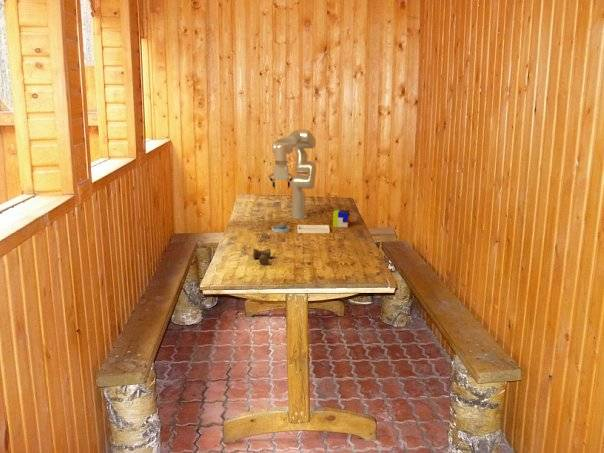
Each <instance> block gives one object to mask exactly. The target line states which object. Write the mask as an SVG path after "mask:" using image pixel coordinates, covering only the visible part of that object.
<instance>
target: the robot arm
mask: <svg viewBox="0 0 604 453" xmlns="http://www.w3.org/2000/svg"><path fill="white" fill-rule="evenodd" d="M316 144H317V141H316V138H315V136H314V135H313V133H312V132H311V131H310V130H308V129H295V130H293V131H292V132H291V133H290V134H289V135H287V136H285V137H280V138H278V139H276V140H275V141H274V142H273V144H272V148H271V150H272V152H273V153H274V157H275V158H274V160H275V162H274V165H273V172H272V173H271V174H269V175H268V176H267V177H268V179H269V181H271V183H272V188H273V189H275V188H276V183H275V182H276V180H277V181H279V180H280V181H285V180H287V188H288V189H289V188H290V187H291V215H289V217H290V219H293V220H304V219H307V218H308V216H307V214H306V194H305V193H306V192H305V191H304V190H303V189H306V190H309V189H313V188H314V187H315V182H316V175H317V163H315V162H314V161H311V160H310V161H308V157H309V156H308V153H307V151H306V150H305V149H314V148H315V147H316ZM294 151H295V154H296V156H295V165H294V172H295V173H296V175H294V174H292V173H290V172H289V165H288V164H289V162H290V161H289V160H287V155H290V154H292V153H293V152H294ZM298 174H299V175H298ZM272 176H273V178H272ZM289 177H290V178H289Z"/></svg>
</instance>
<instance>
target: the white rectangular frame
mask: <svg viewBox="0 0 604 453" xmlns="http://www.w3.org/2000/svg"><path fill="white" fill-rule="evenodd" d="M297 234H330V225H329V224H320V225H319V224H297Z"/></svg>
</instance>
